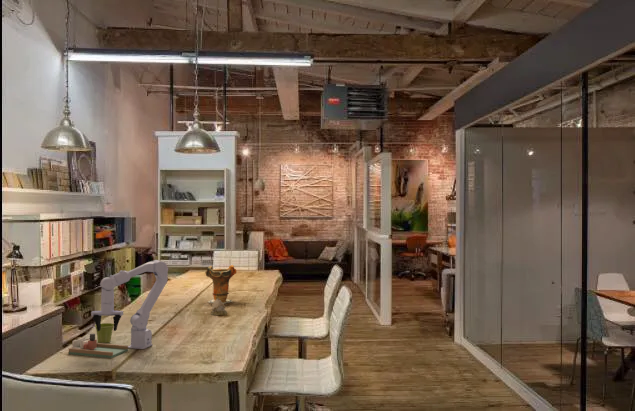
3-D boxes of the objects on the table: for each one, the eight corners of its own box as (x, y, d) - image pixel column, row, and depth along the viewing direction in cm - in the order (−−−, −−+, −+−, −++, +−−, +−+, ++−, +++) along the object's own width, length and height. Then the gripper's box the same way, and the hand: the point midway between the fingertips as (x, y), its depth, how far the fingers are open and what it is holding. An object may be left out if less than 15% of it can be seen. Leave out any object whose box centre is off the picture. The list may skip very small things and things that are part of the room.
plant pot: (108, 338, 261) (108, 322, 261) (117, 341, 255) (117, 324, 255) (91, 342, 254) (91, 325, 254) (100, 345, 248) (100, 328, 248)
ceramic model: (229, 314, 324) (229, 299, 325) (212, 316, 319) (212, 300, 319) (223, 310, 337) (223, 296, 337) (207, 312, 332) (207, 297, 332)
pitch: (127, 350, 239) (127, 345, 239) (111, 357, 227) (111, 352, 227) (86, 347, 244) (86, 342, 244) (68, 353, 233) (68, 348, 233)
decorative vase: (202, 299, 376) (204, 262, 377) (232, 299, 383) (235, 263, 384) (204, 304, 356) (207, 265, 357) (236, 304, 363) (238, 266, 364)
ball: (82, 343, 240) (87, 349, 239) (76, 346, 236) (81, 351, 236) (86, 337, 240) (92, 343, 239) (81, 339, 236) (86, 345, 235)
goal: (93, 346, 241) (93, 336, 241) (81, 351, 233) (81, 340, 233) (84, 346, 242) (84, 335, 242) (72, 350, 234) (72, 340, 234)
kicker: (98, 347, 239) (98, 332, 239) (90, 350, 233) (90, 335, 233) (92, 346, 240) (92, 332, 240) (83, 349, 234) (83, 335, 234)
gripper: (125, 300, 243) (125, 328, 243) (95, 300, 242) (94, 328, 242) (120, 303, 236) (120, 331, 236) (89, 303, 235) (89, 332, 235)
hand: (107, 330), depth 238 cm, fingers open, 7 cm apart
